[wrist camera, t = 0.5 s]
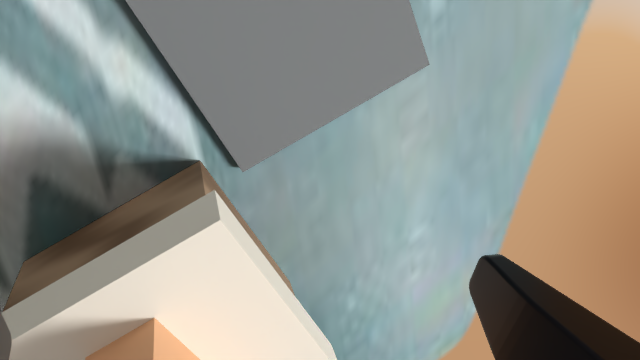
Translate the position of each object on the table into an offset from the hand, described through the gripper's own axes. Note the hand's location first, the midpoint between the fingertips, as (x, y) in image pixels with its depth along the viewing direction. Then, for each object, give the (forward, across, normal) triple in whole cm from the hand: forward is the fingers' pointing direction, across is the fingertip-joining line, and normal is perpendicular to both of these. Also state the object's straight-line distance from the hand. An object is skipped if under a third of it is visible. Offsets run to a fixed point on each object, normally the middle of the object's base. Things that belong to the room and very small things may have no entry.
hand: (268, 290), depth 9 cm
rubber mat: (+15, -3, -1) cm, 15 cm away
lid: (+7, +3, +12) cm, 14 cm away
